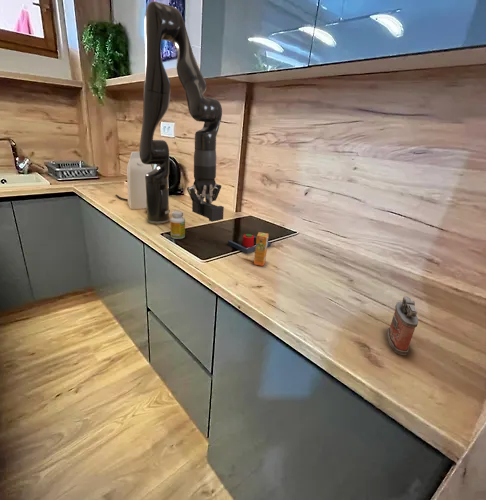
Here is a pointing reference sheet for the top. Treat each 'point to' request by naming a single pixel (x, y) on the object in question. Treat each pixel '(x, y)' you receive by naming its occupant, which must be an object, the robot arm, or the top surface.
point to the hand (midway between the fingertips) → (204, 213)
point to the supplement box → (261, 248)
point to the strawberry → (248, 240)
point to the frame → (243, 249)
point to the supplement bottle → (177, 225)
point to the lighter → (402, 325)
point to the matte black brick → (210, 211)
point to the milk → (137, 181)
